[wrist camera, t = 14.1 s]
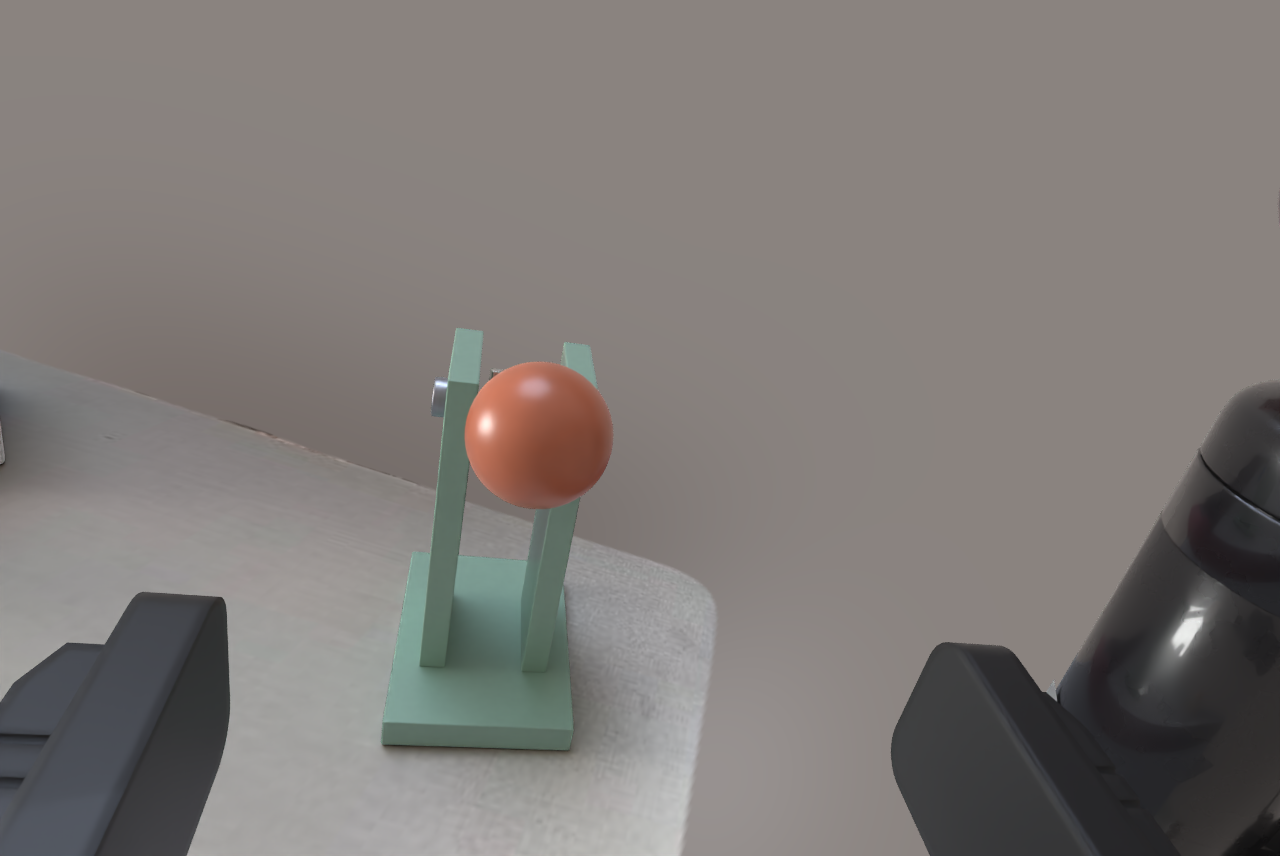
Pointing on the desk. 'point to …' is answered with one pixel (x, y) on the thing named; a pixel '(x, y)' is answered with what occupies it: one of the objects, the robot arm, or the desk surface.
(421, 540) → the desk surface
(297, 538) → the desk surface
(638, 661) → the desk surface
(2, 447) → the ink box
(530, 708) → the switch bracket
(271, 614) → the desk surface
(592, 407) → the switch lever
